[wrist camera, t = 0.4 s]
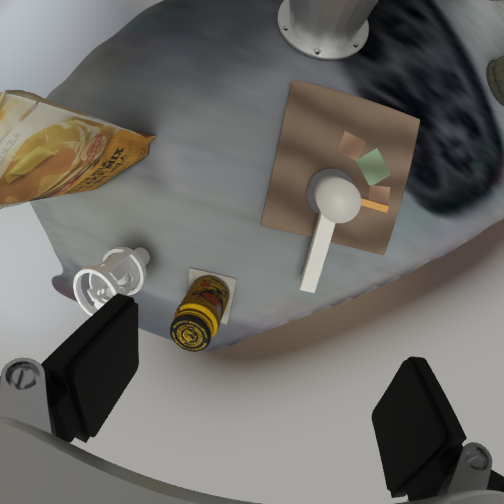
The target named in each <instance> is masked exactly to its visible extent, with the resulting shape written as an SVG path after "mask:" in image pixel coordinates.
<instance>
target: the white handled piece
mask: <svg viewBox="0 0 504 504" xmlns="http://www.w3.org/2000/svg"><path fill="white" fill-rule="evenodd" d="M307 199H308V202H309V204H310V206H311V207H312V209H313V210H314V211H315V212H316V213H317V214H319V216H318V220H317V224H316V228H315V231H314V235H313V239H312V242H311V246H310V249H309V253H308V257H307V260H306V263H305V267H304V270H303V274H302V277H301V281H300V290H303V291H307V292H312V293H314V292H315V289H316V286H317V283H318V280H319V277H320V274H321V271H322V267H323V264H324V261H325V258H326V254H327V251H328V248H329V244H330V241H331V237H332V234H333V230H334V227H335V223H345V222H348V221H350V220H352V219H353V218H354V217H355V216H356V215H357V214H358V212H359V210H360V207H361V205H362V206H365V207H369V208H372V209H376V210H379V211H382V212H386V213H387V211H388V208H389V206H387V205H384V204H380V203H377V202H374V201H370V200H367V199H364V198H361V196H360V193H359V191H358V189H357V188H356V187H355V185H354V183H353V181H352V179H351V178H350V177H349V176H348V175H347V174H346V173H344V172H343V171H341V170H338V169H332V168H329V169H324V170H321V171H319V172H317V173H316V174H315V175H314V176H313V177H312V178H311V180H310V181H309V183H308V187H307Z"/></svg>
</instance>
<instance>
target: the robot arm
mask: <svg viewBox="0 0 504 504" xmlns="http://www.w3.org/2000/svg"><path fill="white" fill-rule="evenodd" d="M378 1H379V0H284V1H283V2H282V4H281V5H280V8H279V10H278V26H279V30H280V32H281V34H282V36H283V37H284V39H285V40H286V41H287V42H288V44H290V45H291V46H292V47H293V48H294V49H296V50H297V51H299V52H300V53H302V54H304V55H307V56H309V57H312V58H315V59H319V60H327V61H329V60H340V59H345V58H347V57H350V56H352V55H354V54H355V53H357V52H358V51H359V50H360V49H361V48H362V47H363V45H364V44H365V43H366V40H367V38H368V34H369V24H368V20H367V18H368V16H369V15H370V13H371V11H372V10H373V8H374V7H375V5H376V4H377V2H378ZM491 1H501V0H491ZM285 29H287V31H285ZM354 46H356V48H355V47H354ZM316 53H319V55H317V54H316ZM138 356H139V355H138V304H137V303H134V299H133V298H132V297H129V296H126V295H123V294H120V293H117V294H115V295H114V296H113V297H112V298H111V299H110V300H109V301H107V302H106V303H105V304H104V305H103V306H102V307H101V308H100V309H99V310H98V311H96V312H95V313H94V314H93V315H92V316H91V317H90V318H89V319H88V320H87V321H86V322H85V323H83V324H82V325H81V326H80V327H79V328H78V329H77V330H76V331H75V332H74V333H73V334H72V335H71V336H69V338H68V339H66V340H65V341H64V342H63V343H62V344H61V345H60V346H59V347H58V348H57V349H56V350H55V351H54V352H53V353H52V354H51V355H50V356H49V357H48V358H47V359H46V360H45V361H44V362H43V363H42V364H41V365H40V363H38V362H37V361H35V360H33V359H30V358H18V359H14V360H12V361H10V362H9V363H7V364H6V365H5V367H4V368H3V370H2V373H1V376H0V504H259V503H252V502H245V501H240V500H233V499H229V498H223V497H219V496H213V495H209V494H205V493H201V492H196V491H192V490H189V489H185V488H182V487H178V486H175V485H171V484H168V483H165V482H162V481H159V480H155V479H152V478H150V477H147V476H144V475H141V474H139V473H136V472H133V471H131V470H128V469H126V468H123V467H121V466H118V465H116V464H113V463H111V462H108V461H106V460H104V459H102V458H99V457H97V456H95V455H93V454H91V453H88V452H87V451H85V450H82V449H80V448H78V447H77V446H75V445H72V444H70V442H72V440H73V439H74V438H75V437H76V438H77V439H79V440H81V441H83V442H85V443H86V442H87V440H88V439H89V437H90V436H91V437H95V436H96V434H97V433H98V431H99V430H100V428H101V427H102V425H103V423H104V422H105V420H106V419H107V417H108V415H109V414H110V412H111V410H112V409H113V407H114V406H115V404H116V403H117V401H118V399H119V398H120V396H121V395H122V393H123V391H124V390H125V388H126V387H127V385H128V384H129V382H130V381H131V379H132V378H133V376H134V374H135V373H136V371H137V369H138V365H139V357H138ZM372 422H373V426H374V430H375V435H376V439H377V443H378V447H379V452H380V456H381V461H382V465H383V470H384V475H385V480H386V485H387V489H388V490H389V491H391V496H392V498H395V497H403V496H405V495H408V500H407V501H406V502H403V503H396V504H504V477H503V476H502V475H500V474H498V473H496V472H495V471H493V470H491V467H492V458H491V455H490V453H489V451H488V450H487V449H486V448H485V447H484V446H482V445H481V444H478V443H473V442H471V443H468V444H466V445H465V446H464V447H463V446H462V443H463V442H464V440H466V436H465V433H464V431H463V429H462V427H461V425H460V423H459V421H458V419H457V417H456V415H455V413H454V411H453V409H452V407H451V405H450V403H449V401H448V399H447V397H446V395H445V393H444V391H443V390H442V388H441V386H440V384H439V382H438V380H437V379H436V377H435V375H434V373H433V372H432V370H431V368H430V366H429V364H428V363H427V361H426V359H425V358H421V357H409V358H408V359H407V360H405V361H403V363H402V364H401V366H400V368H399V370H398V371H397V373H396V375H395V377H394V378H393V380H392V382H391V383H390V385H389V387H388V388H387V390H386V391H385V393H384V395H383V396H382V398H381V399H380V401H379V402H378V404H377V406H376V407H375V409H374V410H373V413H372Z"/></svg>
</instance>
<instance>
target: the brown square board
mask: <svg viewBox="0 0 504 504" xmlns="http://www.w3.org/2000/svg"><path fill="white" fill-rule="evenodd" d="M419 123H420V120H419V119H417V118H414V117H412V116H410V115H407V114H405V113H402V112H400V111H397V110H394V109H392V108H389V107H386V106H383V105H381V104H378V103H375V102H372V101H369V100H366V99H363V98H360V97H357V96H353V95H350V94H347V93H343V92H340V91H336V90H333V89H329V88H325V87H321V86H318V85H313V84H309V83H305V82H301V81H296V80H292V83H291V88H290V93H289V97H288V102H287V106H286V111H285V116H284V120H283V125H282V130H281V134H280V139H279V143H278V148H277V153H276V157H275V162H274V166H273V171H272V176H271V180H270V185H269V189H268V194H267V198H266V203H265V208H264V212H263V217H262V221H261V226H266V227H270V228H274V229H279V230H283V231H287V232H291V233H296V234H300V235H304V236H308V237H312V238H313V235H314V231H315V228H316V224H317V220H318V216H319V214H317V213H316V212H315V211H314V210H313V209H312V207H311V206H310V204H309V202H308V199H307V187H308V183H309V181H310V180H311V178H312V177H313V176H314V175H315V174H316V173H317V172H319V171H321V170H324V169H329V168H332V169H338V170H341V171H343V172H344V173H346V174H347V175H348V176H349V177H350V178H351V179H352V181H353V183H354V185H355V187H356V188H357V189H358V191H359V193H360V196H361V198H364V199H367V200H370V201H374V202H377V203H380V204H384V205H387V206H389V208H388V211H387V213H386V212H382V211H379V210H376V209H372V208H369V207H365V206H362V205H361V207H360V210H359V212H358V214H357V215H356V216H355V217H354V218H353V219H352V220H350V221H348V222H345V223H335V227H334V230H333V234H332V237H331V241H330V242H333V243H337V244H341V245H345V246H349V247H353V248H357V249H361V250H365V251H369V252H373V253H376V254H380V255H384V254H385V251H386V248H387V245H388V242H389V239H390V236H391V233H392V230H393V227H394V224H395V220H396V217H397V214H398V210H399V207H400V204H401V200H402V196H403V193H404V189H405V185H406V181H407V178H408V174H409V169H410V165H411V161H412V157H413V152H414V148H415V143H416V138H417V133H418V128H419Z"/></svg>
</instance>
